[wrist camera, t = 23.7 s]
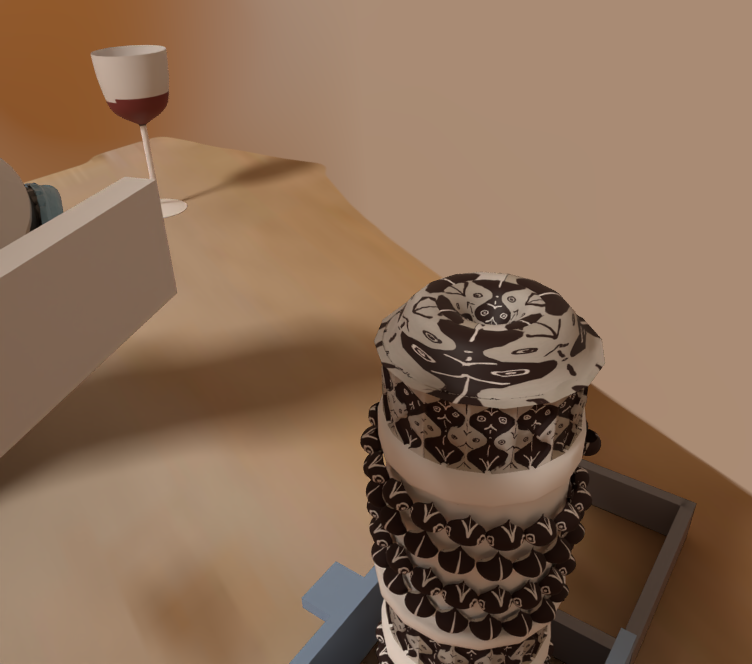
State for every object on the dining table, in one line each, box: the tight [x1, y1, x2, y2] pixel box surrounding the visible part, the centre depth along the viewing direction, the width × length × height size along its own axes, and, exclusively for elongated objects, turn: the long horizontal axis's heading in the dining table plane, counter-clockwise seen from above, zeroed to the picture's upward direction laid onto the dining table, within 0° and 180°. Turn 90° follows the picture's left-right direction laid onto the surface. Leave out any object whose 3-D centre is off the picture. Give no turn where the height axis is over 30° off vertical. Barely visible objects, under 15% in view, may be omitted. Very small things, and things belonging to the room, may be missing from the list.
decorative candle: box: [360, 272, 605, 664], centre depth 31 cm, size 9×9×25 cm
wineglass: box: [91, 45, 187, 218], centre depth 97 cm, size 9×10×22 cm
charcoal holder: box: [551, 459, 696, 664], centre depth 45 cm, size 14×14×3 cm
